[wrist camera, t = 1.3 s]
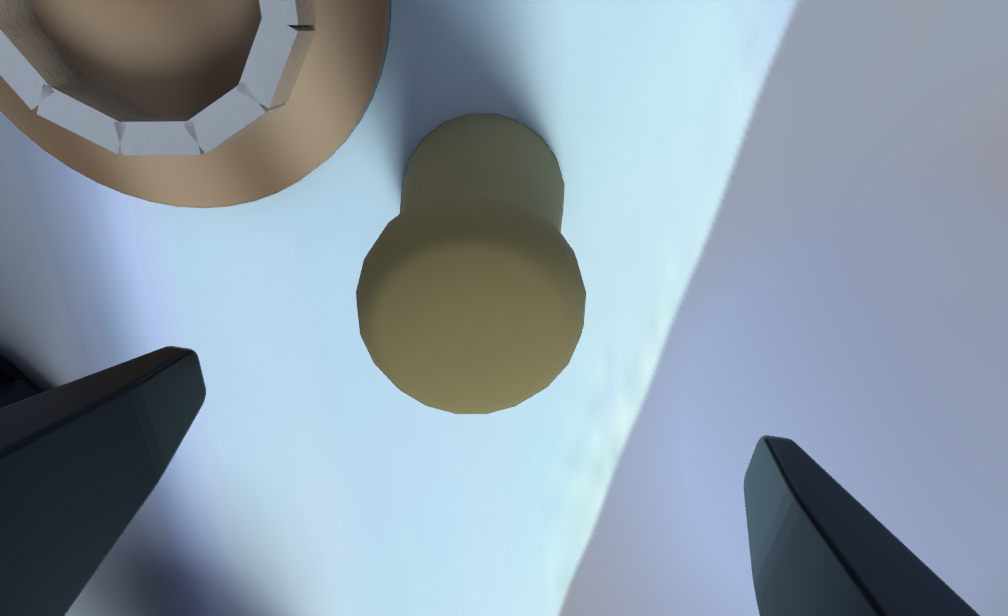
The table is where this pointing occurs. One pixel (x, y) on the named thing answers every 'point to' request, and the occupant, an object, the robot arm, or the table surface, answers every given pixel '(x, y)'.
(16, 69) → the socket ring
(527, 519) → the table surface
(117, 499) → the robot arm
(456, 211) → the cork
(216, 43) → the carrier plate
